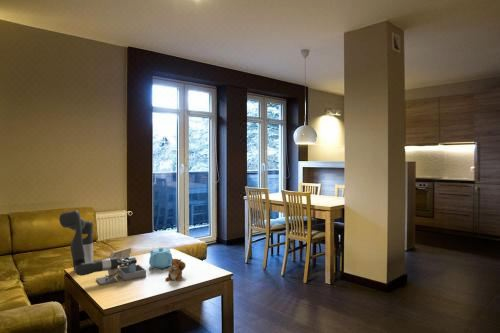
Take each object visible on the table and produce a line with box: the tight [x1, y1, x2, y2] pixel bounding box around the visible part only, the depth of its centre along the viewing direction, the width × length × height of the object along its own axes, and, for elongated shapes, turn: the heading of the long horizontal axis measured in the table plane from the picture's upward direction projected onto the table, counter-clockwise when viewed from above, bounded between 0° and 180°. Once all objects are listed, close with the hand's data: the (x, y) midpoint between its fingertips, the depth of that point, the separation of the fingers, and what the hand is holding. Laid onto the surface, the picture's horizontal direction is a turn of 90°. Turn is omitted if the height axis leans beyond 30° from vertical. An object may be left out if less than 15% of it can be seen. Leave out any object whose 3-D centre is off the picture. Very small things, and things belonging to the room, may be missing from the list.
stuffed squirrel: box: [165, 258, 186, 282], centre depth 227 cm, size 10×14×13 cm
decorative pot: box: [148, 247, 174, 270], centre depth 252 cm, size 16×16×14 cm
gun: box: [107, 247, 132, 276], centre depth 245 cm, size 24×3×15 cm, turn 168°
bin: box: [117, 264, 147, 282], centre depth 232 cm, size 15×14×4 cm
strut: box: [128, 256, 137, 273], centre depth 232 cm, size 4×4×12 cm
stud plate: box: [96, 274, 118, 286], centre depth 223 cm, size 12×10×4 cm
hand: (134, 259), depth 233 cm, fingers open, 8 cm apart
